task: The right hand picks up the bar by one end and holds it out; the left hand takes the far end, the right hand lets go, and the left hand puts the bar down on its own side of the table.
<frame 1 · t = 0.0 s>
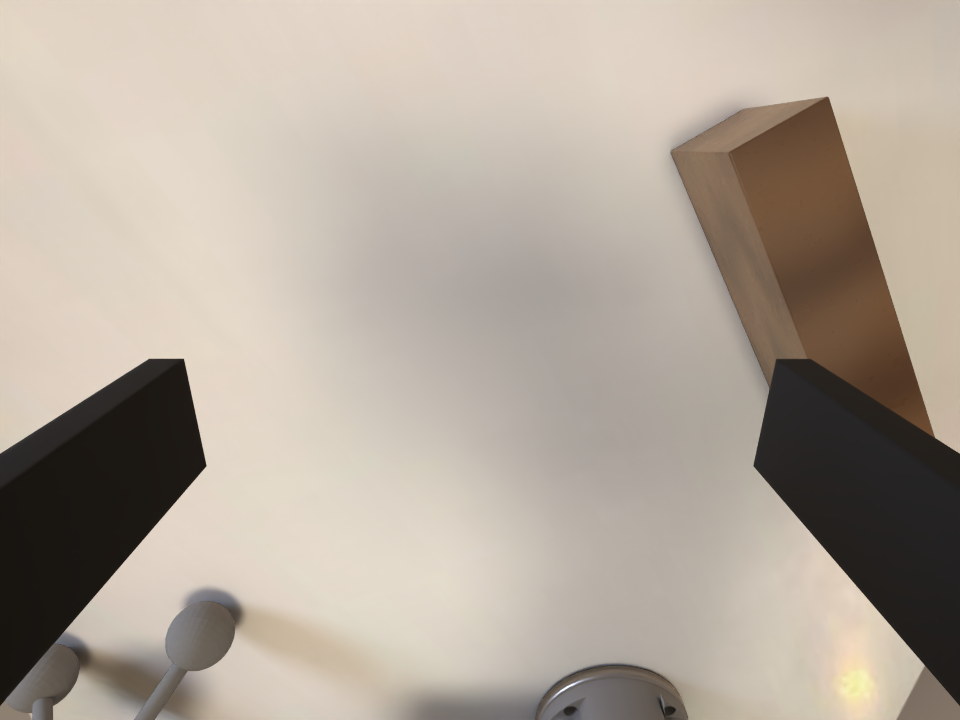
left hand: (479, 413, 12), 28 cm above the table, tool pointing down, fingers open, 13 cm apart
molecular model: (177, 660, 53), on the table
bar: (788, 339, 41), on the table
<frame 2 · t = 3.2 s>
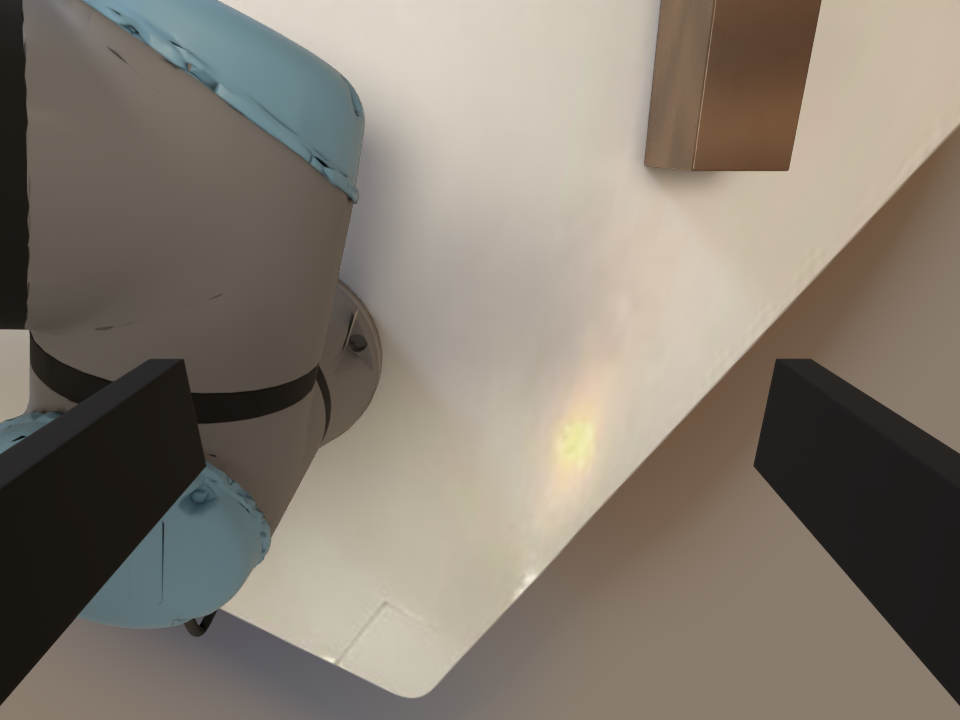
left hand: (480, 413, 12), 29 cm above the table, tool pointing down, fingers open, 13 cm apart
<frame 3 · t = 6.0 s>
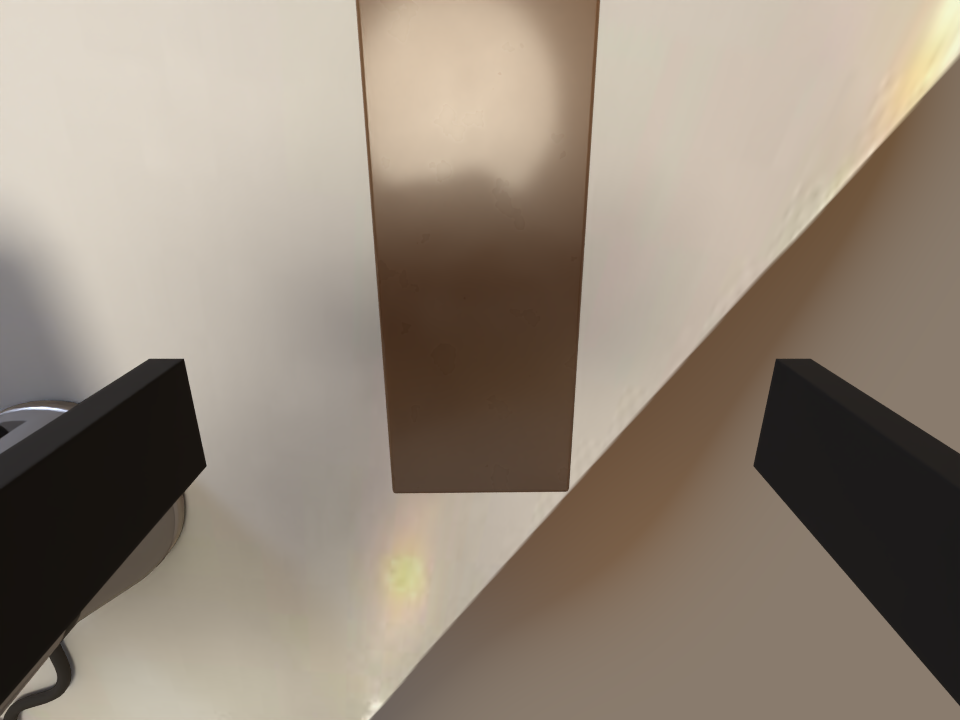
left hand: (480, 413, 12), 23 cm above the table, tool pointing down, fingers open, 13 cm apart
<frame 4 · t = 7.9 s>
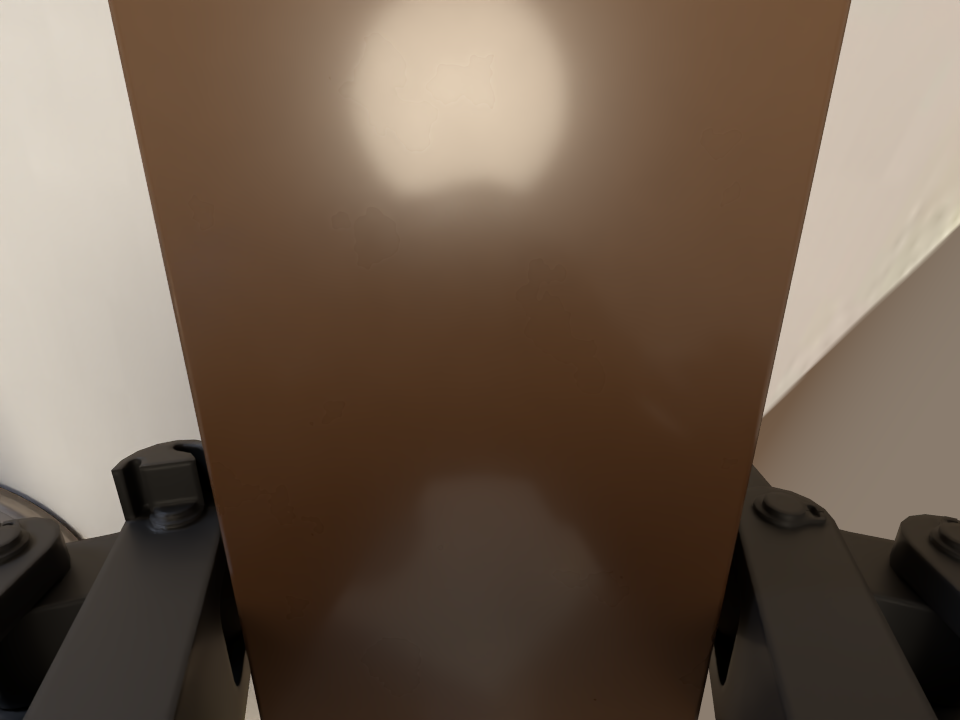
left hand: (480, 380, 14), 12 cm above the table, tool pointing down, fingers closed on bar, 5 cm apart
when the right hand's fingers open (12 cm above the table, at t = 8.6 s): bar stays where it is, held by the left hand.
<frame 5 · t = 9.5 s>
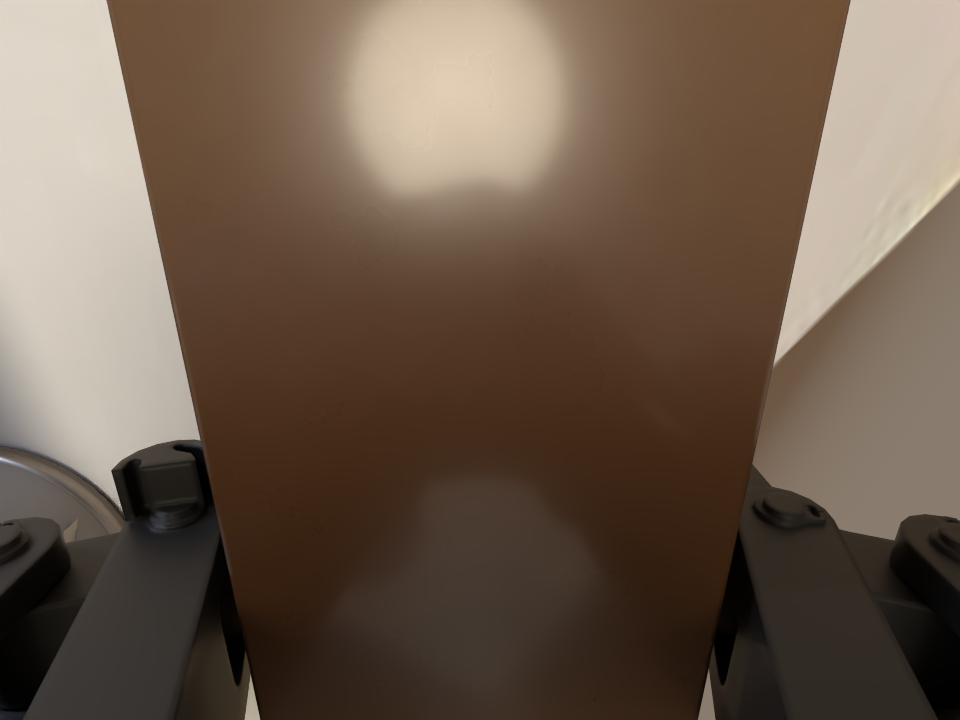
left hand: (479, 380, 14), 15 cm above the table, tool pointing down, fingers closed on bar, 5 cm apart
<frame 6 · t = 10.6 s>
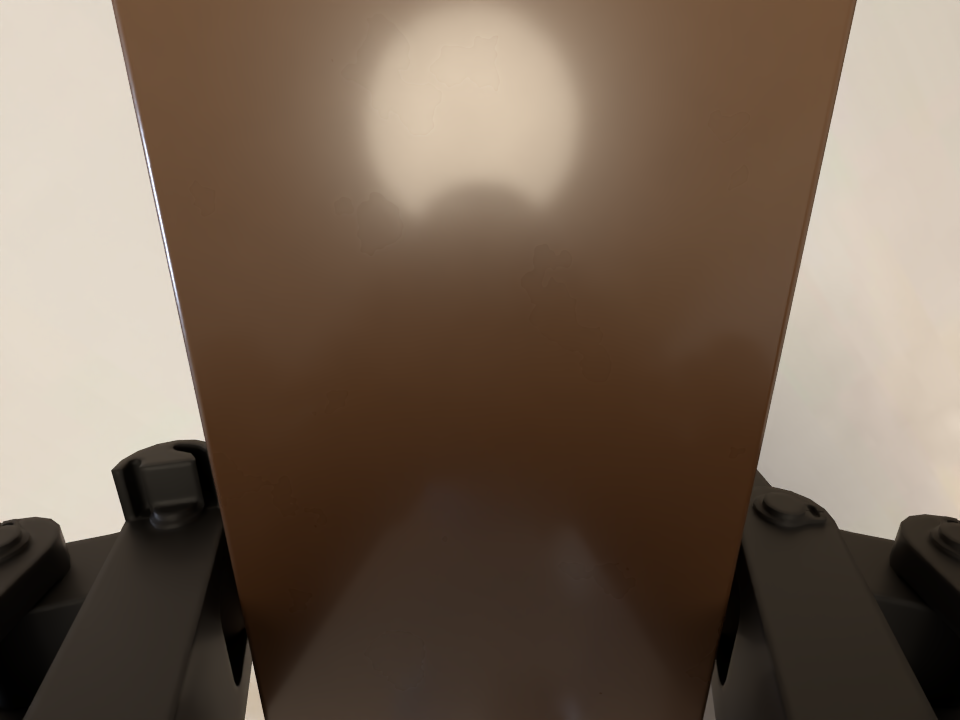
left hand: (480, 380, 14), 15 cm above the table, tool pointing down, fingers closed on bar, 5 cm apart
when the left hand's fingers open (2 cm above the table, at t = 13.5 s): bar drops 1 cm, on the table.
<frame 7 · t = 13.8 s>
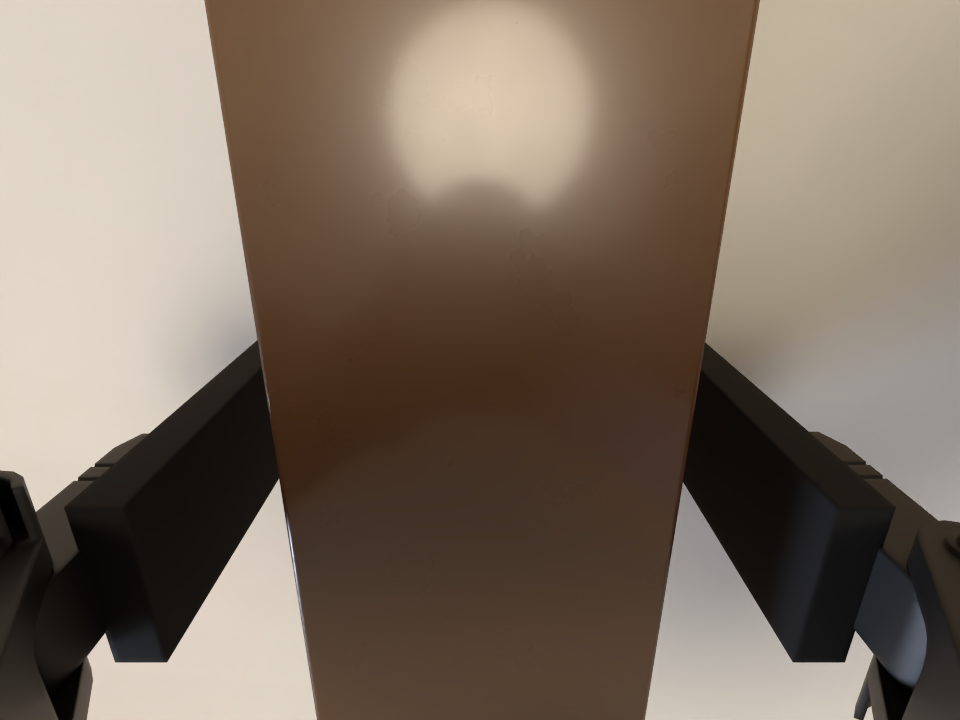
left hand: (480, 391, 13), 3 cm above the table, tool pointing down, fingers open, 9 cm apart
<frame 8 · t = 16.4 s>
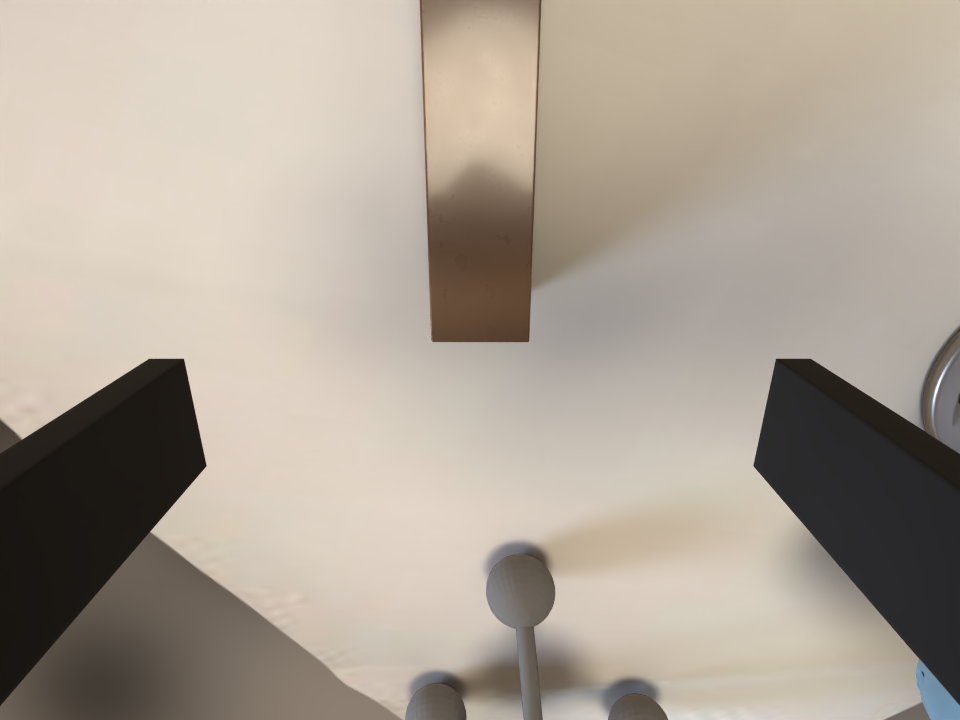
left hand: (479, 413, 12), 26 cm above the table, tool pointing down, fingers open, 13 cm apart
molecular model: (529, 636, 49), on the table
bar: (480, 15, 32), on the table
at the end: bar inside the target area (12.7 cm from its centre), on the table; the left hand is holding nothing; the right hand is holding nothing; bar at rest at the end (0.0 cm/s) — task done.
